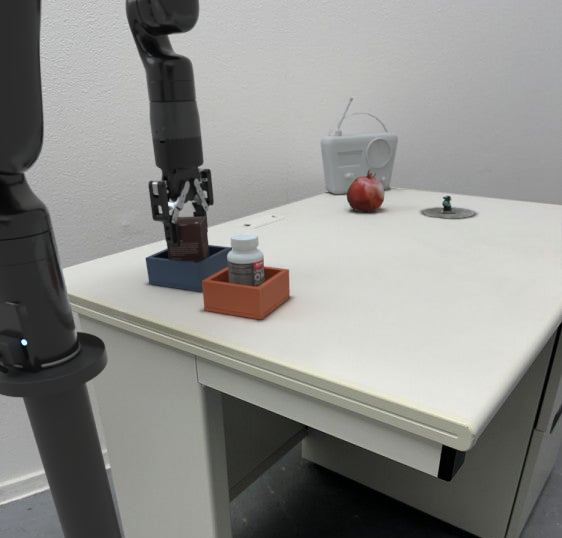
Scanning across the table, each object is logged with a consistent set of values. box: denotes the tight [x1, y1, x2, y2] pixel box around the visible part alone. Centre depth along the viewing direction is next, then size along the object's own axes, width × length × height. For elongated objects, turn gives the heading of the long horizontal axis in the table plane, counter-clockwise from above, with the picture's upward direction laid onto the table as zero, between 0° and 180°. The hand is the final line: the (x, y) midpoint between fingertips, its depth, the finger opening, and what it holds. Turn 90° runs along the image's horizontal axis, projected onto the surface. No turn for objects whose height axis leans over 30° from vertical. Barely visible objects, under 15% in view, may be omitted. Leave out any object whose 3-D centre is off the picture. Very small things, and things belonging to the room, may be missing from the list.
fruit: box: [346, 170, 385, 213], centre depth 136 cm, size 9×10×10 cm
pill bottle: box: [227, 232, 265, 287], centre depth 81 cm, size 5×5×10 cm
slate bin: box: [144, 244, 233, 293], centre depth 94 cm, size 11×11×5 cm
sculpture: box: [422, 195, 475, 219], centre depth 133 cm, size 12×9×8 cm
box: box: [166, 216, 210, 263], centre depth 92 cm, size 6×6×7 cm
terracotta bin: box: [202, 265, 291, 320], centre depth 82 cm, size 10×10×5 cm
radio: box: [320, 96, 399, 195], centre depth 155 cm, size 22×8×25 cm, turn 109°
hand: (188, 239), depth 92 cm, fingers closed on box, 7 cm apart
